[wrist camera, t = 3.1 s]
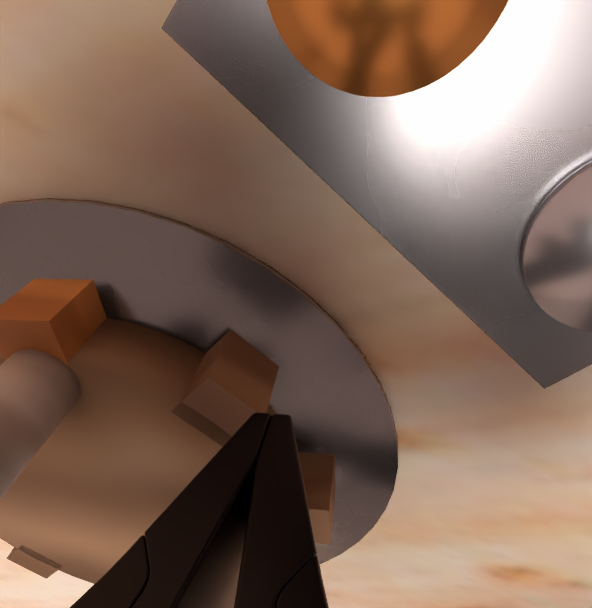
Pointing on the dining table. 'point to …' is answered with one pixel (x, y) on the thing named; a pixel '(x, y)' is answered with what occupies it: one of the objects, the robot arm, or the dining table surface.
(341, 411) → the sprocket base
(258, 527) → the robot arm
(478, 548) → the dining table surface
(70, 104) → the dining table surface
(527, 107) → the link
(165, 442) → the sprocket
